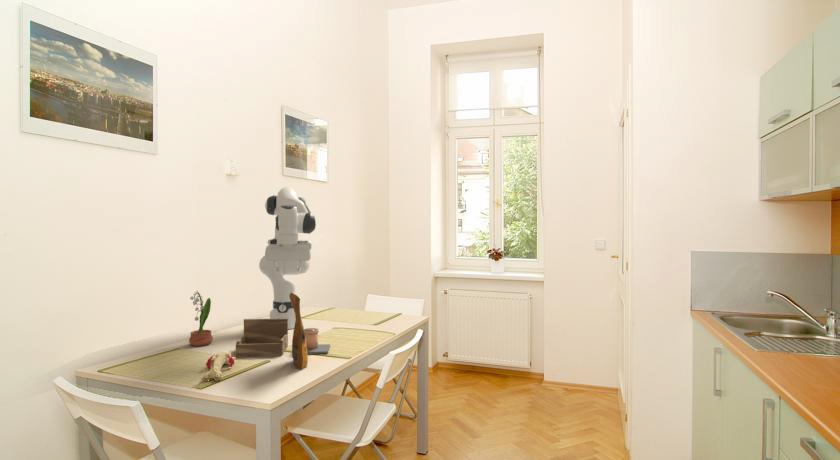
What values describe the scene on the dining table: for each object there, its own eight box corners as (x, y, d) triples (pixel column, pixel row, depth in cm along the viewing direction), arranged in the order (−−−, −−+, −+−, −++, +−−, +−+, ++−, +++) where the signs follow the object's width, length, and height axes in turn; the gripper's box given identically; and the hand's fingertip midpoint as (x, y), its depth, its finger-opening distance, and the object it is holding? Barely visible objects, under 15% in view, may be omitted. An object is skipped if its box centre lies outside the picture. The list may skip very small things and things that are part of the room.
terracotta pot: (303, 346, 210) (303, 328, 210) (318, 345, 211) (319, 327, 211) (302, 350, 203) (302, 331, 203) (318, 349, 204) (318, 331, 204)
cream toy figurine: (226, 384, 167) (238, 358, 191) (226, 360, 166) (238, 337, 190) (196, 386, 164) (212, 360, 189) (196, 362, 164) (211, 339, 188)
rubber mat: (305, 346, 212) (305, 344, 212) (330, 346, 213) (330, 344, 213) (301, 354, 200) (301, 352, 200) (328, 353, 201) (328, 351, 201)
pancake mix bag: (290, 371, 177) (290, 297, 177) (289, 357, 195) (289, 290, 195) (308, 370, 179) (309, 296, 179) (305, 356, 197) (305, 290, 197)
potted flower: (201, 348, 208) (201, 292, 207) (181, 347, 209) (181, 291, 209) (217, 342, 219) (217, 288, 219) (198, 340, 221) (198, 288, 221)
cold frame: (244, 347, 210) (244, 319, 210) (287, 346, 212) (288, 318, 212) (235, 356, 196) (235, 326, 196) (282, 355, 198) (282, 325, 198)
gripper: (312, 240, 218) (312, 270, 219) (266, 240, 216) (266, 270, 216) (310, 240, 212) (310, 271, 212) (263, 240, 210) (263, 271, 210)
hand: (288, 270), depth 214 cm, fingers open, 8 cm apart
